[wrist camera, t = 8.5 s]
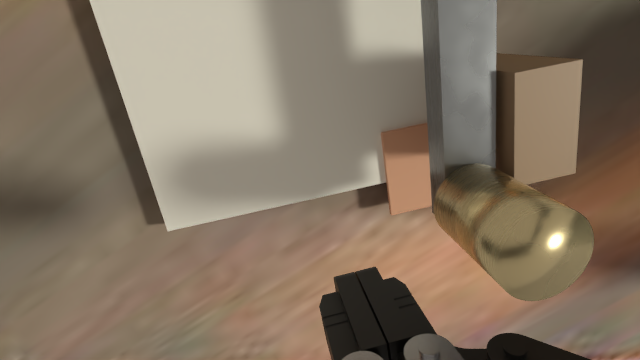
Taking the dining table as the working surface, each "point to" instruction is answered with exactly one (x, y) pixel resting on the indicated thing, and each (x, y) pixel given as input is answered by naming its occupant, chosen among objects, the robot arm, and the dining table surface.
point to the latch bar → (489, 163)
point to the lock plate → (308, 102)
